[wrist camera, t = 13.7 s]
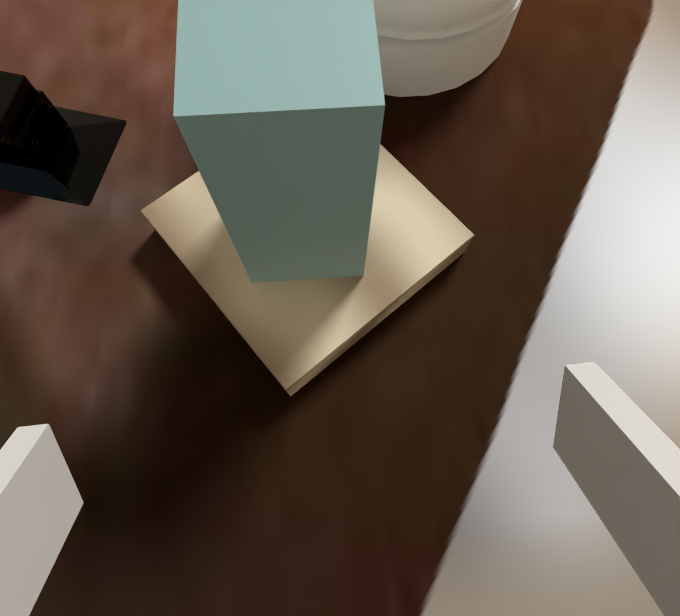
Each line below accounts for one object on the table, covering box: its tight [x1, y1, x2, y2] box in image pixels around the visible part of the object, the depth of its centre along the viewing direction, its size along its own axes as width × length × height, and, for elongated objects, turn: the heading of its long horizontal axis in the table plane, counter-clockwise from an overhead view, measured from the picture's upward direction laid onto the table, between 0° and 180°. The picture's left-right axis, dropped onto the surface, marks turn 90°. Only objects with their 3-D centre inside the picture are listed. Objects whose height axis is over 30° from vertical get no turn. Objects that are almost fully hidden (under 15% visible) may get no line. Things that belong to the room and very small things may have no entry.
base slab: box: [141, 144, 474, 396], centre depth 24 cm, size 11×11×2 cm
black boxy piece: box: [0, 71, 126, 206], centre depth 25 cm, size 12×7×5 cm, turn 77°
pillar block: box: [173, 0, 385, 283], centre depth 18 cm, size 5×5×11 cm
